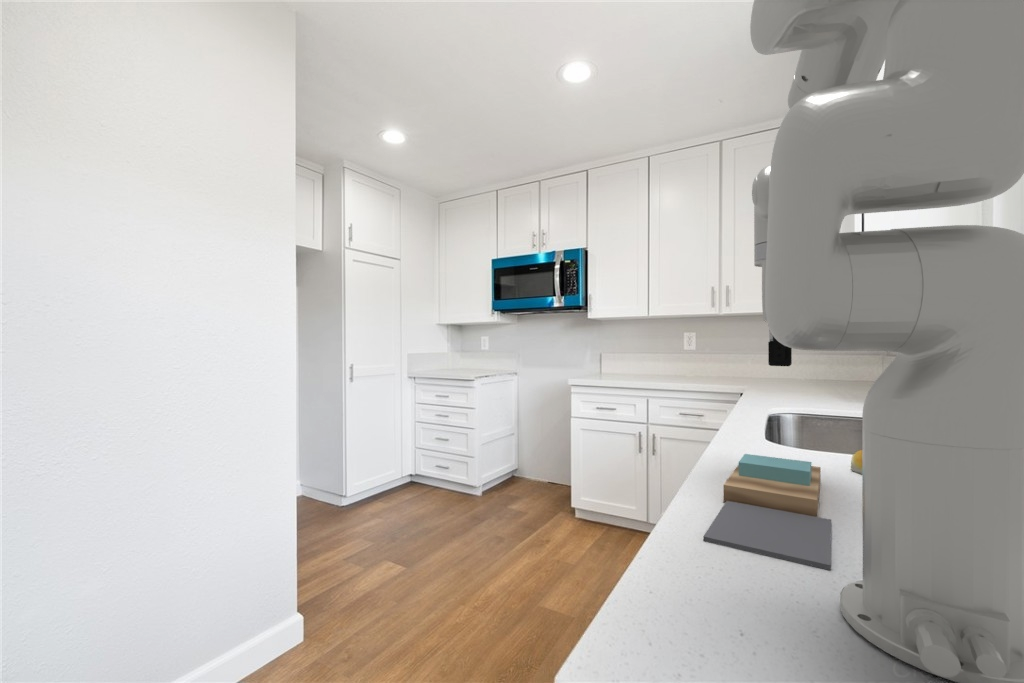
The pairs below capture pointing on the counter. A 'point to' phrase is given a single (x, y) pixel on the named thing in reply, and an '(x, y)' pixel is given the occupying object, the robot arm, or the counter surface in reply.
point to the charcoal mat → (773, 533)
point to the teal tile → (775, 469)
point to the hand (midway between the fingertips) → (779, 365)
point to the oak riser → (775, 493)
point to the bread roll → (857, 462)
